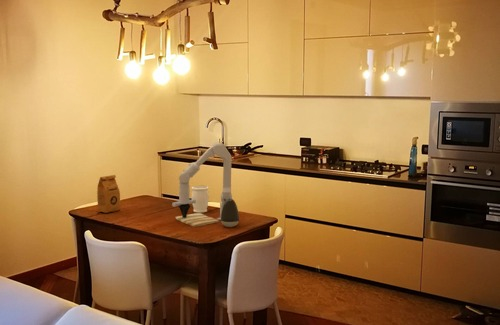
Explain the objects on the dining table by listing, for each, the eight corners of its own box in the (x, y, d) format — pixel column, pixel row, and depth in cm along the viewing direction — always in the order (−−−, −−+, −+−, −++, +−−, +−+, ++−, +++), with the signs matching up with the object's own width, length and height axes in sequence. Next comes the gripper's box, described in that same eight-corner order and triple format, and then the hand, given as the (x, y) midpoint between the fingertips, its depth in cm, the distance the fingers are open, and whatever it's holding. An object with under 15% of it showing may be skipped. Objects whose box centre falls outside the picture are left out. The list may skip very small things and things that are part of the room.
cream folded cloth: (207, 218, 299) (208, 216, 299) (184, 223, 289) (184, 221, 289) (199, 214, 306) (199, 212, 306) (175, 218, 296) (175, 216, 296)
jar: (200, 214, 310) (200, 189, 308) (188, 211, 316) (187, 187, 314) (212, 210, 318) (212, 186, 316) (200, 208, 325) (199, 184, 322)
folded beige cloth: (218, 222, 292) (218, 220, 291) (195, 226, 281) (195, 224, 281) (209, 219, 298) (209, 217, 298) (185, 223, 288) (185, 221, 288)
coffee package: (123, 211, 317) (121, 175, 314) (105, 214, 308) (103, 177, 304) (113, 208, 323) (112, 173, 320) (95, 211, 314) (94, 175, 311)
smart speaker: (231, 222, 291) (231, 195, 289) (243, 226, 283) (243, 199, 281) (216, 225, 285) (216, 198, 283) (227, 229, 277) (227, 201, 275)
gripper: (191, 191, 302) (191, 214, 304) (169, 194, 292) (169, 217, 294) (198, 193, 296) (198, 216, 298) (176, 196, 287) (176, 220, 289)
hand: (184, 217), depth 296 cm, fingers closed, pressing on cream folded cloth
